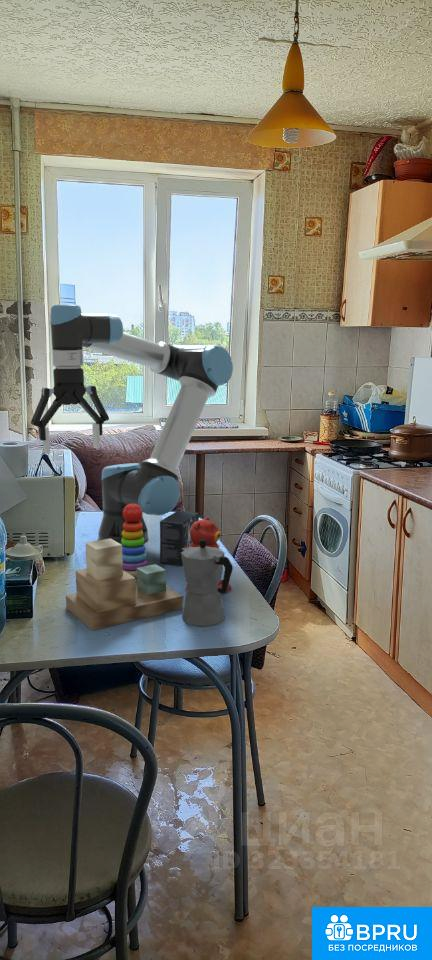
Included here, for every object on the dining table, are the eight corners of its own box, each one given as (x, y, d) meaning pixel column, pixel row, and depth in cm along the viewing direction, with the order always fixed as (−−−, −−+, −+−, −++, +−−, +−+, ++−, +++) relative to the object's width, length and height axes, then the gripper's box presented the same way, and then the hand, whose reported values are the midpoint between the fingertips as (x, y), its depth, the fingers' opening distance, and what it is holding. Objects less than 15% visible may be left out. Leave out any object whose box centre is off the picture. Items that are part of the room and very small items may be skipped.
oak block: (111, 568, 158) (110, 538, 156) (123, 575, 153) (121, 544, 151) (86, 572, 155) (85, 542, 153) (97, 580, 150) (96, 549, 148)
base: (152, 588, 170) (151, 553, 168) (183, 608, 158) (182, 570, 156) (66, 607, 158) (64, 570, 156) (92, 630, 146) (90, 589, 144)
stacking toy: (143, 580, 176) (141, 508, 172) (113, 578, 178) (110, 507, 174) (152, 570, 184) (150, 501, 180) (123, 568, 185) (121, 500, 182)
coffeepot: (167, 615, 154) (165, 537, 150) (199, 604, 160) (198, 529, 156) (215, 637, 142) (214, 552, 139) (247, 624, 149) (247, 543, 145)
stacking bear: (210, 602, 161) (210, 528, 158) (175, 594, 166) (173, 522, 163) (234, 588, 170) (234, 517, 167) (200, 581, 175) (199, 512, 172)
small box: (182, 566, 187) (182, 523, 184) (159, 564, 189) (158, 521, 187) (199, 552, 199) (199, 511, 197) (177, 550, 201) (176, 510, 199)
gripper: (24, 369, 166) (29, 457, 170) (119, 366, 179) (122, 448, 183) (14, 368, 172) (20, 453, 176) (107, 365, 185) (110, 444, 190)
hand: (72, 450), depth 180 cm, fingers open, 13 cm apart
